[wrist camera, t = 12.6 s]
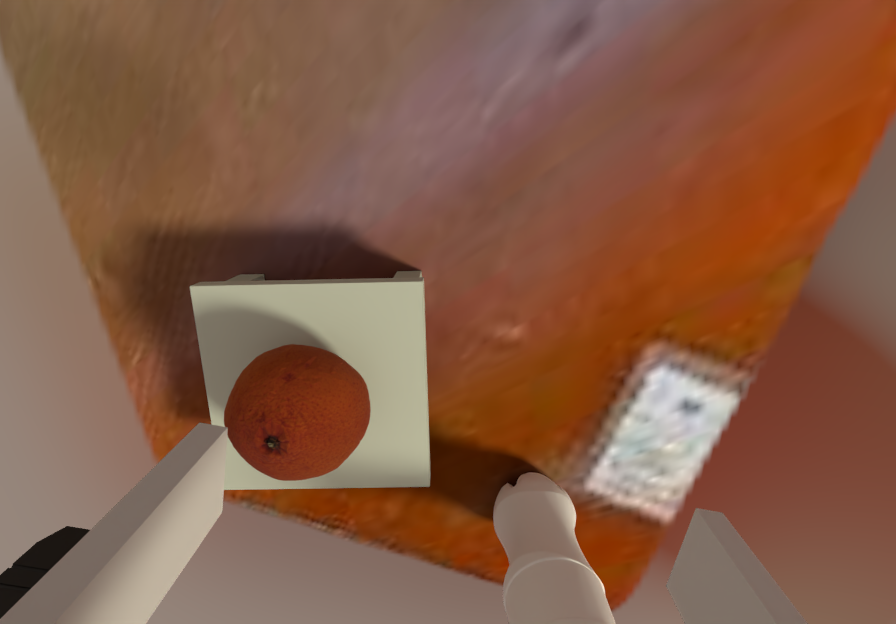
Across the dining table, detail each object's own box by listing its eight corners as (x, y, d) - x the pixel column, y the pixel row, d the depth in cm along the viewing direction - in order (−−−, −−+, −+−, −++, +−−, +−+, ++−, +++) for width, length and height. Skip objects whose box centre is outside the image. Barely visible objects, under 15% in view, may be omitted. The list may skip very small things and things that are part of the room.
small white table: (233, 268, 41) (189, 286, 34) (427, 264, 40) (422, 281, 34) (256, 443, 45) (222, 489, 38) (433, 440, 45) (429, 486, 38)
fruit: (238, 419, 36) (181, 484, 29) (276, 313, 34) (225, 352, 27) (350, 462, 37) (324, 536, 30) (394, 361, 35) (378, 412, 27)
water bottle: (488, 528, 47) (527, 897, 23) (493, 461, 45) (542, 786, 21) (563, 532, 47) (681, 904, 23) (571, 465, 45) (711, 794, 21)
